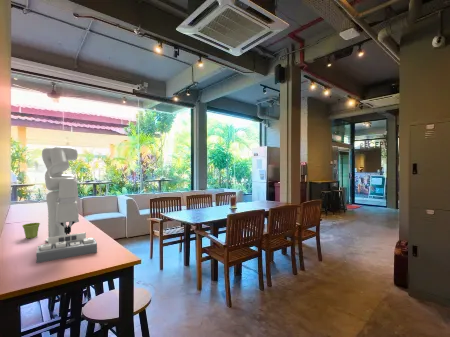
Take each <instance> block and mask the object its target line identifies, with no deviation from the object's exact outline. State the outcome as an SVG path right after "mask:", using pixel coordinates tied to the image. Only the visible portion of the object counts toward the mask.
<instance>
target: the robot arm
mask: <svg viewBox="0 0 450 337" xmlns="http://www.w3.org/2000/svg"><path fill="white" fill-rule="evenodd" d="M41 158H42V161H43V163H44V166H45V168H46V171H45V174H44V181H45V186H46V189H47V190H48V191H49V192H47V194H46V197H45V199H46V204H47V212H48V213H47V214H48V215H47V217H48V218H47V223H48V225H47V226H48V232H47V234H48V235H47V236H48V237H55V236H63V235H70V233H72V226H73V225H74V224H76V223H79V222H80V220H79V214H80V213H79V205H78V202H79V191H78V190H79V189H78V182H77V178H76V176H75V175H74V174H64V172H65V171H67V170H68V169H69V168H70V163H69V162H70V161H73V162H74V161H76V160H77V159H78V158H79V157H78V150H77V149H76V147H72V146H54V147H45V148H44V149H42V151H41ZM67 223H68V225H67ZM48 237H46V238H45V242H46V243H48Z"/></svg>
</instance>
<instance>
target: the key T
mask: <svg viewBox="0 0 450 337" xmlns="http://www.w3.org/2000/svg"><path fill="white" fill-rule="evenodd" d="M93 238H94V237H86V238H85V239H83V244H86V243H92V242H93Z"/></svg>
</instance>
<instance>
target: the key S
mask: <svg viewBox="0 0 450 337" xmlns="http://www.w3.org/2000/svg"><path fill="white" fill-rule="evenodd" d="M60 247H66V241H64V242H57V243H56V248H60Z"/></svg>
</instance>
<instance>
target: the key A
mask: <svg viewBox="0 0 450 337" xmlns="http://www.w3.org/2000/svg"><path fill="white" fill-rule="evenodd" d="M40 246H41V247H40V251H41V250H47V249H52V243H50V244H48V243H45V244H40Z"/></svg>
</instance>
